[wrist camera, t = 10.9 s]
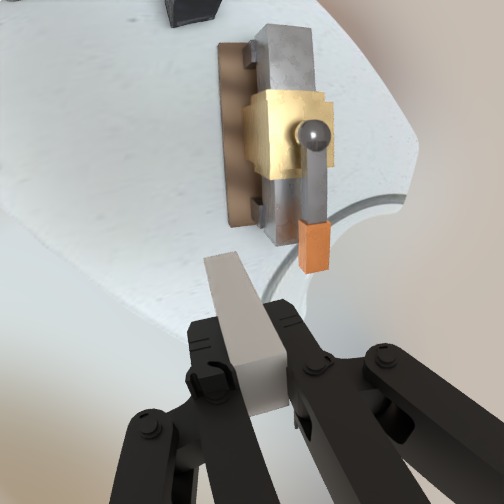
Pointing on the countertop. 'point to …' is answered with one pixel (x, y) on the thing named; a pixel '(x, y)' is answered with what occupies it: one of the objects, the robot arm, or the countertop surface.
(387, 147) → the countertop surface
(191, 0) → the small box
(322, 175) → the valve lever
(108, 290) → the countertop surface
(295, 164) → the valve
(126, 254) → the countertop surface
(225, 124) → the base board
